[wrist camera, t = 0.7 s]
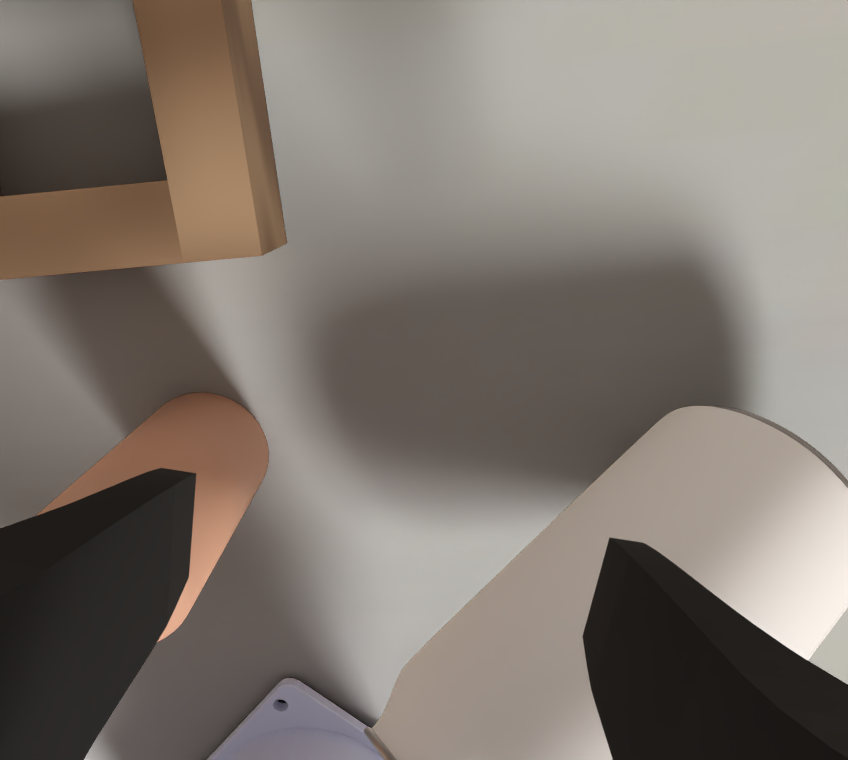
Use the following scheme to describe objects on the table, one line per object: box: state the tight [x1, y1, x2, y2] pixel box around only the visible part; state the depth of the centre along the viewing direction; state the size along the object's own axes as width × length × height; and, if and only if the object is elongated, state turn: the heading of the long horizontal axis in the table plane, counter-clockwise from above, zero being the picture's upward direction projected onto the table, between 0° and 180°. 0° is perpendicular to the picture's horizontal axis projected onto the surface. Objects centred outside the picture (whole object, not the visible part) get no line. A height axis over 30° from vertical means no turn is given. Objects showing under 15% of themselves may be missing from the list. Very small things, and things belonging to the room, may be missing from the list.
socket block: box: [0, 0, 287, 280], centre depth 17 cm, size 10×10×3 cm
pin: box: [36, 393, 269, 642], centre depth 19 cm, size 4×4×7 cm
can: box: [364, 406, 848, 760], centre depth 17 cm, size 6×6×12 cm
